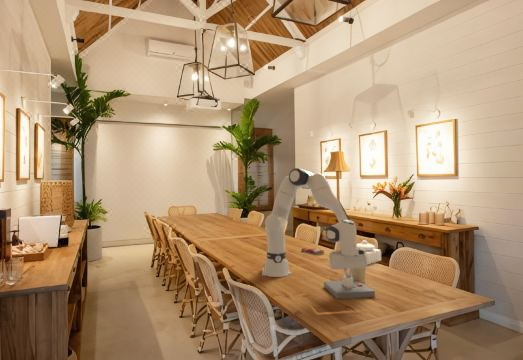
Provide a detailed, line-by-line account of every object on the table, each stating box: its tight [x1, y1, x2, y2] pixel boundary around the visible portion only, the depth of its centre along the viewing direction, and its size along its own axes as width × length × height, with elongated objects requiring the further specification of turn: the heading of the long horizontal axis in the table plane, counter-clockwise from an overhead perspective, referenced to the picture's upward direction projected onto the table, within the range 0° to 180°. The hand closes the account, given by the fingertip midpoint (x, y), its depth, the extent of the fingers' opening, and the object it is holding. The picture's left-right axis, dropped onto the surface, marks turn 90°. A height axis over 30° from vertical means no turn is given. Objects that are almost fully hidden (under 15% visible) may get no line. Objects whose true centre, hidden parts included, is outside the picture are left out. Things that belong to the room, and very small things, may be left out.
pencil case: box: [301, 247, 325, 256], centre depth 280 cm, size 11×20×5 cm, turn 34°
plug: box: [342, 275, 353, 288], centre depth 186 cm, size 7×4×8 cm, turn 9°
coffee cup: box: [352, 267, 367, 284], centre depth 204 cm, size 9×9×12 cm
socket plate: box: [323, 280, 376, 300], centre depth 185 cm, size 20×20×4 cm
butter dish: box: [356, 239, 382, 266], centre depth 254 cm, size 18×18×16 cm
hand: (348, 276), depth 185 cm, fingers closed, pressing on plug
